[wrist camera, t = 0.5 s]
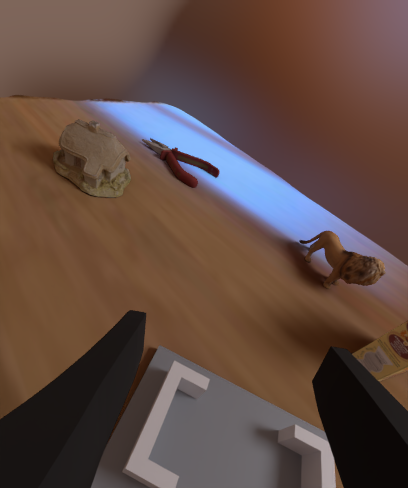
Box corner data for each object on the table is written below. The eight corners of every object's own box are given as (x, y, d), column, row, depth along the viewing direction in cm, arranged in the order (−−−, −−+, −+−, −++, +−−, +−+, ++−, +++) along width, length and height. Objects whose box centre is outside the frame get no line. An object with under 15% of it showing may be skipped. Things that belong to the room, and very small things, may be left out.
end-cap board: (332, 639, 17) (376, 664, 14) (81, 493, 18) (79, 492, 15) (325, 437, 26) (351, 429, 23) (158, 348, 27) (165, 332, 24)
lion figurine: (357, 300, 43) (399, 269, 38) (339, 306, 41) (380, 273, 35) (306, 241, 52) (333, 208, 46) (288, 243, 50) (314, 208, 44)
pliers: (160, 140, 67) (162, 131, 65) (219, 178, 62) (222, 169, 60) (128, 147, 59) (129, 136, 57) (192, 191, 53) (195, 181, 52)
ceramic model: (141, 179, 50) (149, 131, 43) (110, 205, 42) (113, 150, 35) (79, 152, 50) (77, 99, 44) (36, 172, 42) (25, 110, 35)
